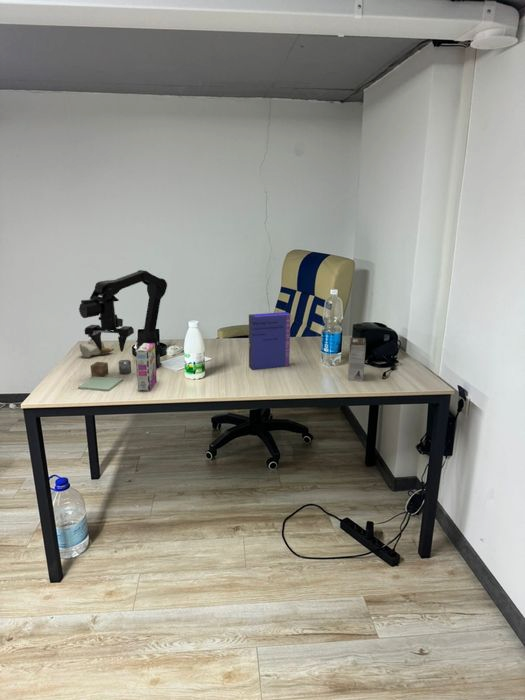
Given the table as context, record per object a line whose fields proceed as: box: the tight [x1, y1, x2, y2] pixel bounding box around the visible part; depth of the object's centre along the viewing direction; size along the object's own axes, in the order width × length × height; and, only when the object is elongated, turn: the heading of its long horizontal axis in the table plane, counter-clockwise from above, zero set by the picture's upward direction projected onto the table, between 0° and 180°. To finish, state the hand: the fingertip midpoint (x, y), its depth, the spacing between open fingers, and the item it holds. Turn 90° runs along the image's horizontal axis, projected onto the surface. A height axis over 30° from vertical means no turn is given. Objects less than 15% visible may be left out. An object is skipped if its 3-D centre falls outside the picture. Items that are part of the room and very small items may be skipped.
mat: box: [77, 376, 124, 392], centre depth 188 cm, size 13×12×1 cm
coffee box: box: [347, 337, 367, 382], centre depth 195 cm, size 9×6×16 cm
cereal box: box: [248, 311, 291, 371], centre depth 207 cm, size 17×5×24 cm, turn 108°
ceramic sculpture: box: [79, 338, 115, 359], centre depth 224 cm, size 11×9×15 cm
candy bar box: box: [135, 343, 158, 392], centre depth 184 cm, size 11×5×16 cm, turn 178°
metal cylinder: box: [118, 359, 133, 376], centre depth 201 cm, size 5×5×5 cm
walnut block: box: [90, 361, 110, 378], centre depth 198 cm, size 5×5×5 cm
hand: (111, 350), depth 192 cm, fingers open, 9 cm apart
